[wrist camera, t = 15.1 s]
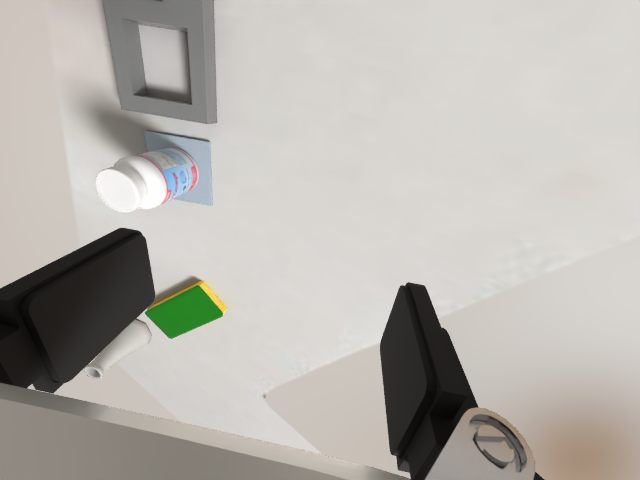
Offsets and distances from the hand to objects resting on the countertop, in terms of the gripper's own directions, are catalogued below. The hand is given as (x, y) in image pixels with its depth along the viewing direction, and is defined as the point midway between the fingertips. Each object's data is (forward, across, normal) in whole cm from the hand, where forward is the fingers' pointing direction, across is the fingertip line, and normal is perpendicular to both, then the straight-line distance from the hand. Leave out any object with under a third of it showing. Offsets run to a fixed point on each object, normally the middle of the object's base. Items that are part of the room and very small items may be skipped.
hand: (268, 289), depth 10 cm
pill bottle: (+28, +21, +5) cm, 35 cm away
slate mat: (+28, +21, +5) cm, 36 cm away
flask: (+29, +34, +40) cm, 60 cm away
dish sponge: (+29, +22, +31) cm, 48 cm away
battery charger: (+28, +21, -14) cm, 38 cm away
